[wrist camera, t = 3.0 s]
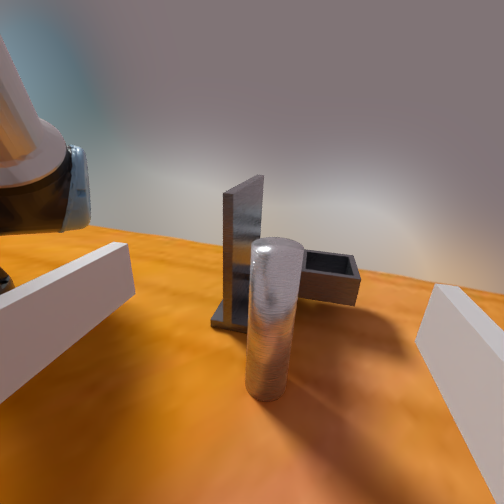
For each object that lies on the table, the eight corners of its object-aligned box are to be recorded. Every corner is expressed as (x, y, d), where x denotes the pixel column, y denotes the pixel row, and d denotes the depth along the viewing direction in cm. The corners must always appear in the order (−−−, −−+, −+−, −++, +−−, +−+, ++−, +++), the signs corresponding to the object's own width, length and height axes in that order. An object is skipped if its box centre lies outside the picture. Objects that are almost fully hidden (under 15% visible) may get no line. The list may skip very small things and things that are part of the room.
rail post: (240, 395, 27) (245, 252, 20) (250, 363, 31) (257, 234, 24) (283, 406, 26) (302, 260, 19) (287, 371, 30) (305, 240, 23)
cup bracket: (210, 326, 36) (207, 191, 29) (243, 269, 52) (246, 174, 45) (353, 354, 32) (392, 208, 25) (341, 283, 49) (362, 182, 41)
